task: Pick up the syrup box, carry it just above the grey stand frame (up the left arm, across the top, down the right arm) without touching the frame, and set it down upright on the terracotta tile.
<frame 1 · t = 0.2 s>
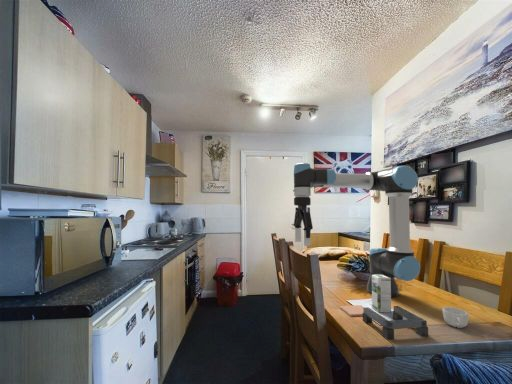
hand: (302, 243, 115), 28 cm above the table, tool pointing down, fingers open, 13 cm apart
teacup: (456, 327, 95), on the table
syrup box: (381, 310, 110), on the table
terracotta tile: (355, 311, 108), on the table
grey stand frame: (393, 327, 93), on the table
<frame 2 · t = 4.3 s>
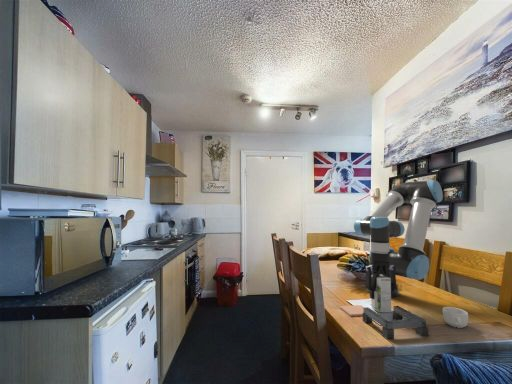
hand: (381, 305, 110), 2 cm above the table, tool pointing down, fingers closed on syrup box, 6 cm apart
syrup box: (381, 310, 110), on the table, touching gripper
everything else where it was.
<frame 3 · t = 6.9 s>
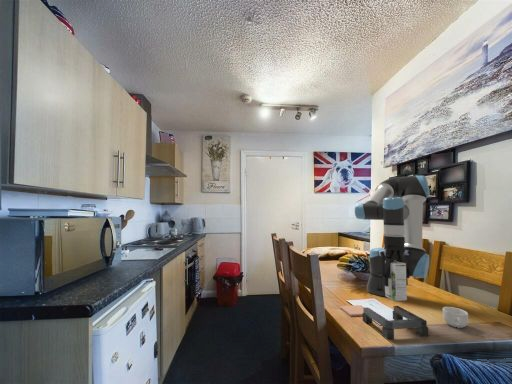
hand: (395, 294, 101), 10 cm above the table, tool pointing down, fingers closed on syrup box, 6 cm apart
syrup box: (396, 299, 101), point 8 cm above the table, touching gripper
everything else where it was.
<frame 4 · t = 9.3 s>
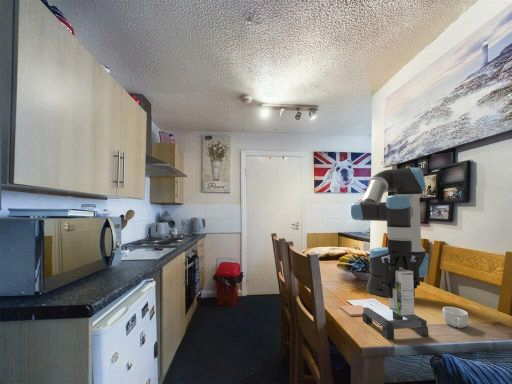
hand: (401, 306, 88), 10 cm above the table, tool pointing down, fingers closed on syrup box, 6 cm apart
syrup box: (401, 312, 87), point 8 cm above the table, touching gripper
everything else where it was.
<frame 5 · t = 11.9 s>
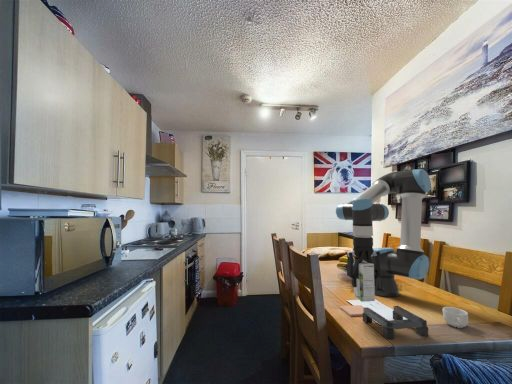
hand: (364, 294, 101), 9 cm above the table, tool pointing down, fingers closed on syrup box, 6 cm apart
syrup box: (364, 299, 101), point 7 cm above the table, touching gripper
everything else where it was.
when the fingers open (4 cm above the table, at t = 14.4 s): syrup box drops 1 cm, resting on terracotta tile.
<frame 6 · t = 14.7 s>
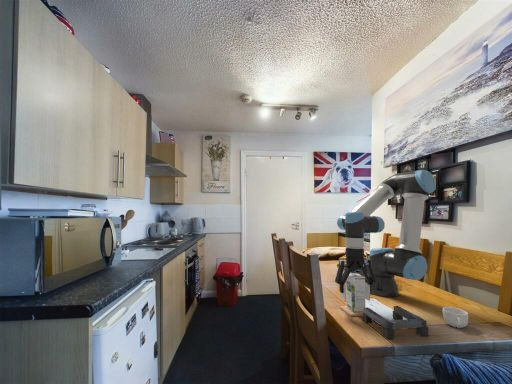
hand: (355, 299, 108), 5 cm above the table, tool pointing down, fingers open, 10 cm apart
syrup box: (356, 309, 108), point 1 cm above the table, touching terracotta tile
everything else where it was.
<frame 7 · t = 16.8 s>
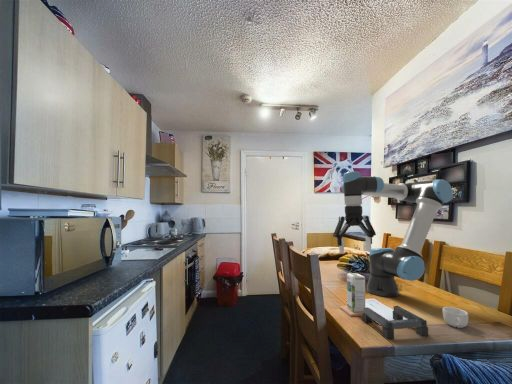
hand: (355, 252, 115), 24 cm above the table, tool pointing down, fingers open, 13 cm apart
nothing on the table moved.
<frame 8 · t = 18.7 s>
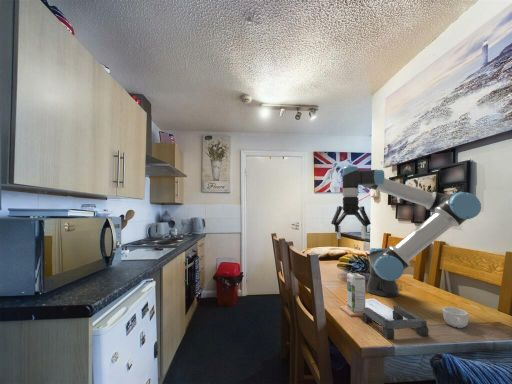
hand: (351, 238, 128), 29 cm above the table, tool pointing down, fingers open, 13 cm apart
nothing on the table moved.
at the end: syrup box inside the target area (0.2 cm from its centre), point 0.6 cm above the table; syrup box tilted 0°; grey stand frame moved 0.0 cm from its start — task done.
